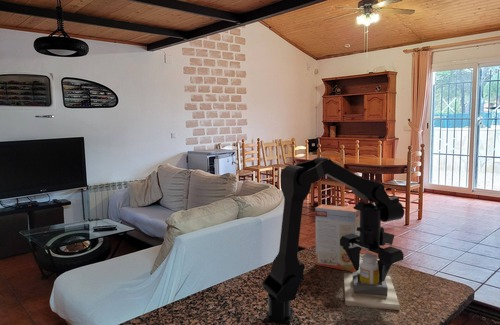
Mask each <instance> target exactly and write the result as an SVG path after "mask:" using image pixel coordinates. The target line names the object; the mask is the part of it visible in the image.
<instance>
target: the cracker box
mask: <svg viewBox="0 0 500 325" xmlns="http://www.w3.org/2000/svg"><path fill="white" fill-rule="evenodd" d="M314 211H315V218H314V219H315V265H316V266H320V267H326V268H332V269H336V270H341V271H347V272H351V273H353V272H357V271H356V270H355V268H354V266H353V264H352V262H351V260H350V258H349V256H348V255H347V253H346V251H345V250H344V249H343V246H340V238H341V237H342V236H344V235H348V234H355V235H358V236H360V231H357V227H360V211H359V210H356V209H354V207H351V206H342V205H332V204H331V205H330V204H320V205H318V206H316V207H315V210H314ZM359 268H360V265H359Z"/></svg>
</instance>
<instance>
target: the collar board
mask: <svg viewBox="0 0 500 325" xmlns="http://www.w3.org/2000/svg"><path fill="white" fill-rule="evenodd" d="M391 278H392V277H391V275H386V278H385V280H384V281H383V282H381V281H380V277H379V285H372V284H360V271H359V272H358V271H355V272H351V273H348V272H344V273H343V283H344V284H343V287H344V300H345V302H344V303H345V304H344V305H345V306H346V305H347V306H348V307H360V308H372V309H383V310H396V311H400V309H401V308H400V302H399V300H398V296H397V293H396V290H395V287H394V284H393V281H392V279H391Z"/></svg>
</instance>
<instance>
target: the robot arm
mask: <svg viewBox="0 0 500 325" xmlns="http://www.w3.org/2000/svg"><path fill="white" fill-rule="evenodd" d="M324 176H326V177H328V178H330V179H332V180H333V181H336V182H338V183H340V184H342V185H343V186H345V187H347V188H348V189H349V190H350V191H351V192H352V193H353V194H354V195H355V196H356V197H358V198H359V200H360V199H361V200H364V201H361V200H360V201H358V203H356V204H355V205H354V206H353V208H354V209H356V210H359V211H360V227H357V231H360V236H358V235H355V234H348V235H344V236H342V237H341V238H340V246H343V249H344V250H345V251H346V253H347V255H348V256H349V258H350V260H351V262H352V264H353V266H354V268H355V270H356V271H355V272H358V271H360V267H359V265H360V263H361V257H360V256H361V250H362V249H364V250H365V251H366V250H367V251H369V252H371V253H374V254H377V261H376V262H377V263H378V269H379V277H380V281H381V282H383V281H384V280H385V278H386V276H388V273H389V271H390V269H391V267H392V266H393V265H394V264H396V263H398V262H401V261H404V251H403V250H402V249H400V248H397V247H393V246H392V245H393V242H394V240H395V234H393V233H389V232H386V231H385V228H384V227H382V225H381V224H382V223H386V222H391V221H397V220H401V219H403V217H404V215H405V208H404V205H402V203H401V202H400V198H399V197H398V196H391V197H390V196H389V195H388V193H387V191H386V190H385V188H386V186H385V185H384V184H383V183H381V182H379V181H375V180H372V179H369V178H368V179H367V178H364V177H361V176H359V175H358V174H356V173H354V172H352V171H351V170H348V169H347V168H345V167H343V166H341V165H340V164H338V163H336V162H334V161H332V159H331V158H327V157H322V156H317V157H315V158H313V159H311V160H307V161H303V162H300V163H297V164H288V165H286V166H285V167H283V169H281V172H280V189H281V191H282V195H283V199H284V200H283V209H282V210H283V212H282V218H281V220H282V222H281V230H280V239H279V241H280V242H279V248H278V249H279V250H278V253H277V255H276V256H275V258H274V260H273V262H272V264H271V269H270V272H269V274H268V275H267V276H266V277H265V278H264V280H263V281H262V282H261V284H262V287H263V290H264V291H265V292H267V302H268V307H267V308H268V309H267V313H266V316H265V319H264V320H265V322H266V323H274V324H275V323H276V324H286V325H291V323H292V318H293V315H294V309H292V308H291V301H294V300H295V299H296V298H297V297H296V296H297V294H298V290H299V288H300V287H301V285H302V281H304V279H305V278H304V273H305V272H304V271H305V264H304V263H303V262H301V261H300V260H299V257H298V253H299V252H298V251H299V245H300V237H301V236H300V235H301V234H300V233H301V225H302V217H303V208H304V201H305V200H306V199H307V197H308V195H309V194H310V192H311V187H312V184H314V183H316V182H318V181H320V180H321V179H322V178H323V177H324ZM365 201H367V202H365ZM381 222H382V223H381ZM386 244H387V245H390V246H387V247H384V246H386ZM381 246H383V247H381ZM378 259H379V260H378Z"/></svg>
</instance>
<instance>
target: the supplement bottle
mask: <svg viewBox="0 0 500 325" xmlns="http://www.w3.org/2000/svg"><path fill="white" fill-rule="evenodd" d="M361 258H362V261H360V267H359V272H360V284H372V285H379V269H378V262H377V261H378V255H376V254H375V253H374V254H373V253H368V252H367V253H363V254H362V255H361Z"/></svg>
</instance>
